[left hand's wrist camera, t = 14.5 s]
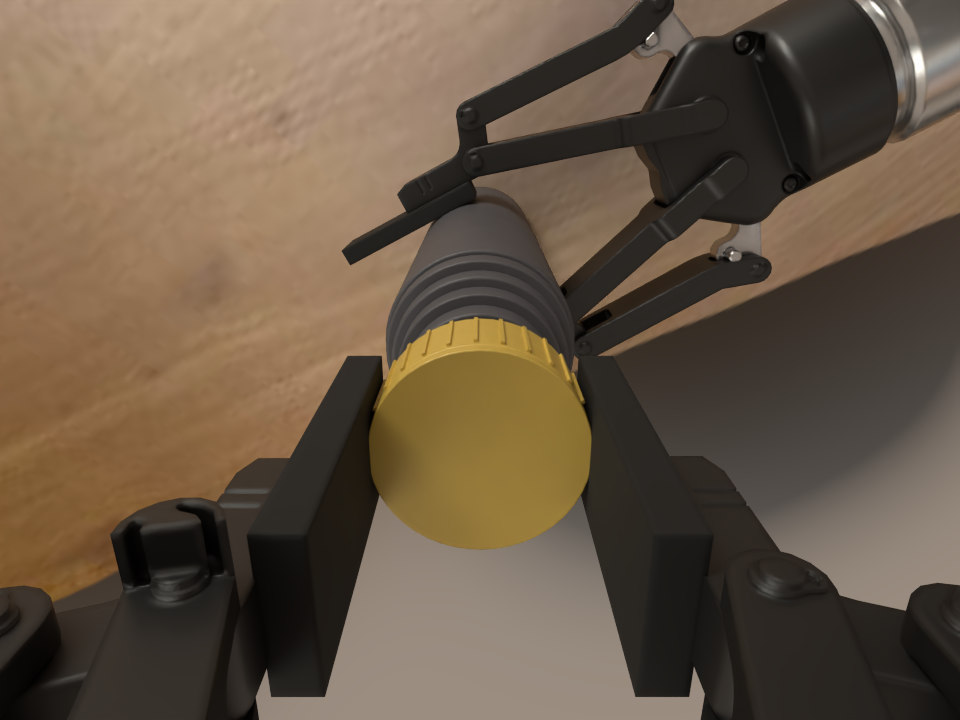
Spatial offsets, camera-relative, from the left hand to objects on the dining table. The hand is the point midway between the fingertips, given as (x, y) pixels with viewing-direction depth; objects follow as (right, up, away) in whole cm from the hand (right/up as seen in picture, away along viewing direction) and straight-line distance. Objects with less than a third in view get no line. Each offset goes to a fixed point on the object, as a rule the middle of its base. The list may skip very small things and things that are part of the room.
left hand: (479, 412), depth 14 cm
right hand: (-5, +4, +17) cm, 18 cm away
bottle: (0, +8, +22) cm, 23 cm away
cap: (0, -1, -2) cm, 2 cm away
